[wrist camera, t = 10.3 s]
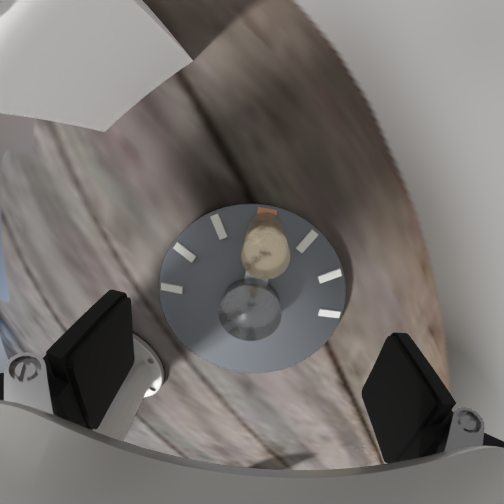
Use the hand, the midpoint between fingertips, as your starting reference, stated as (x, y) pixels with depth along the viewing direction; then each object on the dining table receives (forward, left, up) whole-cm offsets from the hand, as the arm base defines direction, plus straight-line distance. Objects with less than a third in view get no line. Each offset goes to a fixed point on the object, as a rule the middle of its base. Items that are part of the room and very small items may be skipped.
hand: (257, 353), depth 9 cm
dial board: (-8, 0, -20) cm, 21 cm away
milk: (+16, +18, -20) cm, 31 cm away
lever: (-4, 0, -18) cm, 18 cm away
